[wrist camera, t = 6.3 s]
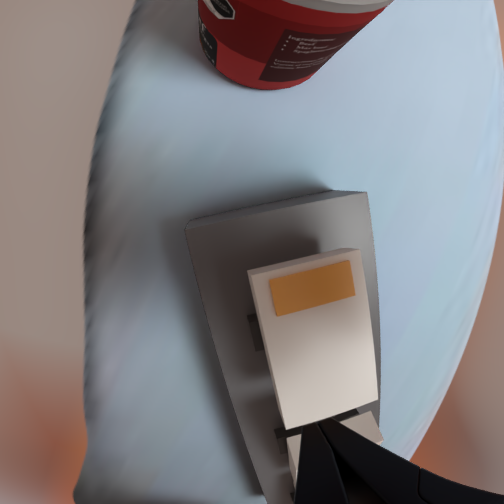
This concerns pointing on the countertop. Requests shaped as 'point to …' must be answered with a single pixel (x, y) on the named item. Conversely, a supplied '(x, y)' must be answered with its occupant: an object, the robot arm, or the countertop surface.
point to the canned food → (279, 36)
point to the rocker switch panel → (244, 312)
